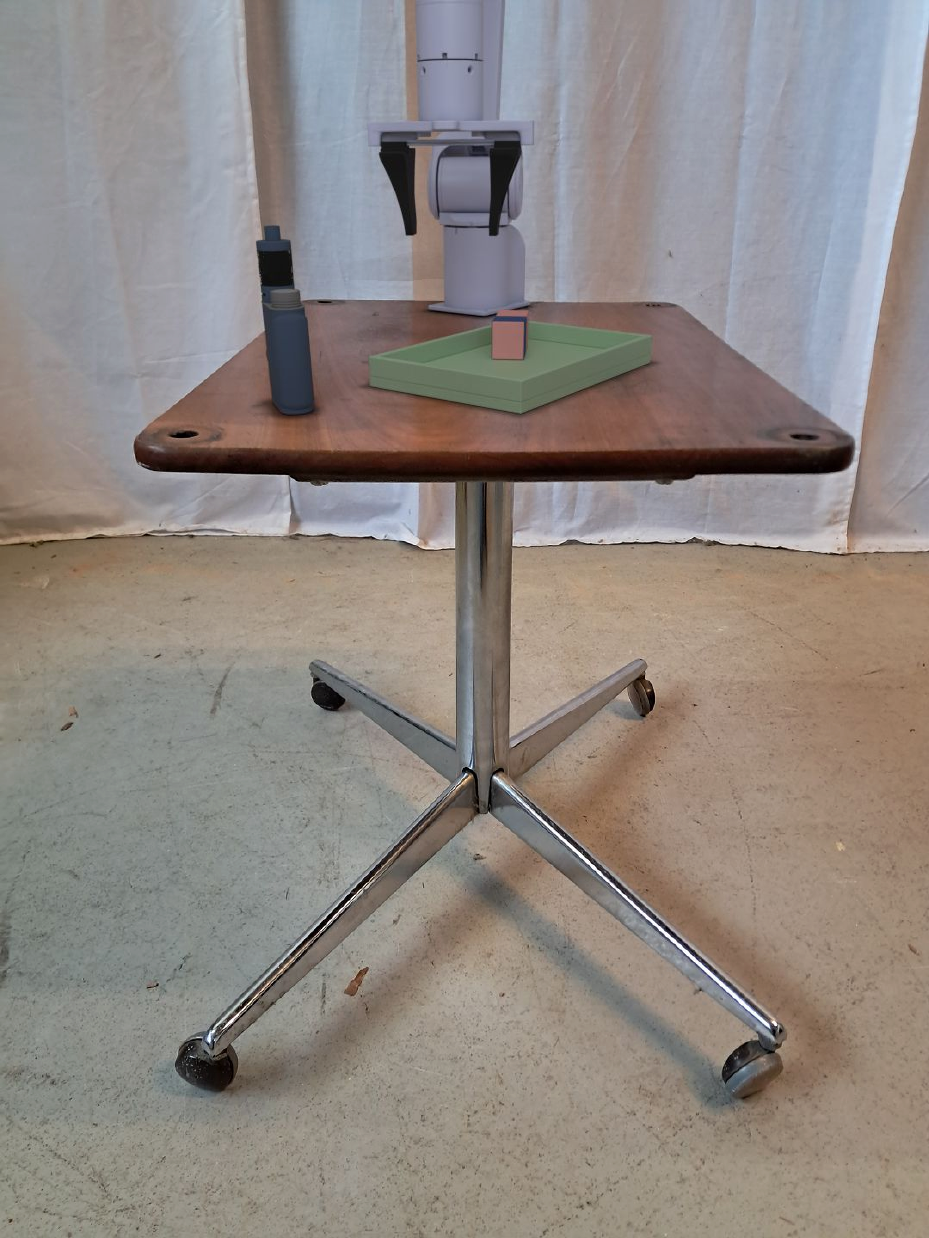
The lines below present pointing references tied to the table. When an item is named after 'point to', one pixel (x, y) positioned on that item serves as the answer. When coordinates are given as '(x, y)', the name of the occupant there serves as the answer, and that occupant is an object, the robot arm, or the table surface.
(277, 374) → the vaping device
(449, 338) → the tray
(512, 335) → the eraser
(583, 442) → the table surface
